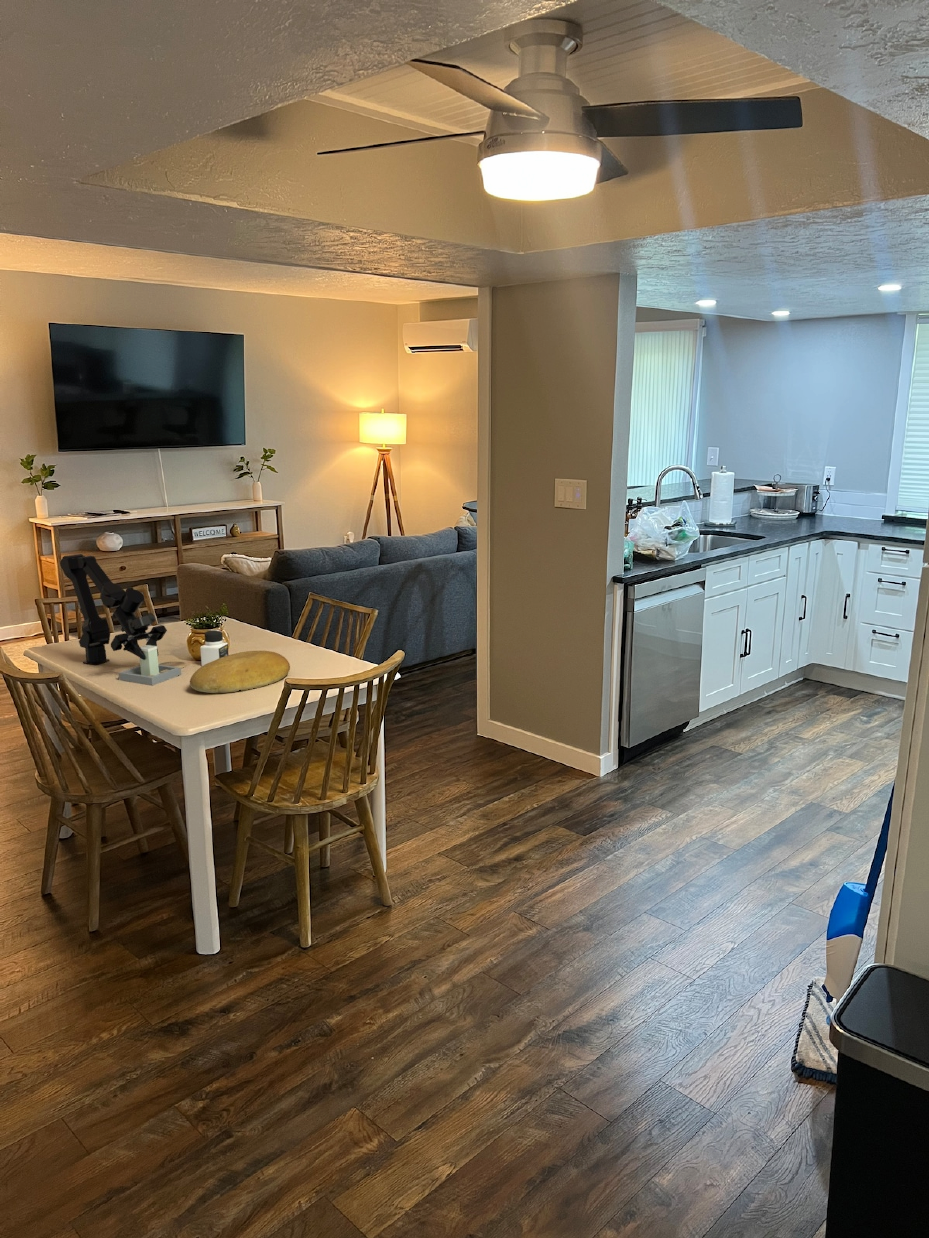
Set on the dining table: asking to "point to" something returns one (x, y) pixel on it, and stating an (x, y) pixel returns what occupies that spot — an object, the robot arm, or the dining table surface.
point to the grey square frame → (134, 676)
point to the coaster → (174, 664)
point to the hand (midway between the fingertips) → (151, 657)
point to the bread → (240, 672)
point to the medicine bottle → (213, 647)
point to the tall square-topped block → (149, 661)
